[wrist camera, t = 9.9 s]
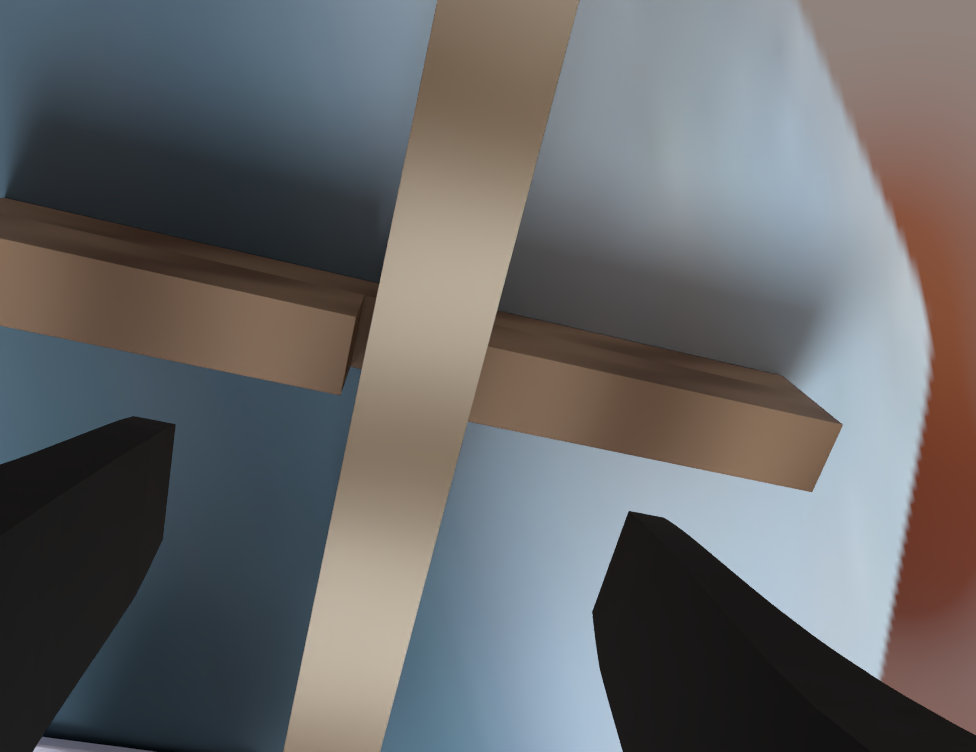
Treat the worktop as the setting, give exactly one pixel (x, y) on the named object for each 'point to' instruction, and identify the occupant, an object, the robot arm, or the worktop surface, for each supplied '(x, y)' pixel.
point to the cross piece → (425, 352)
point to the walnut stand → (344, 335)
